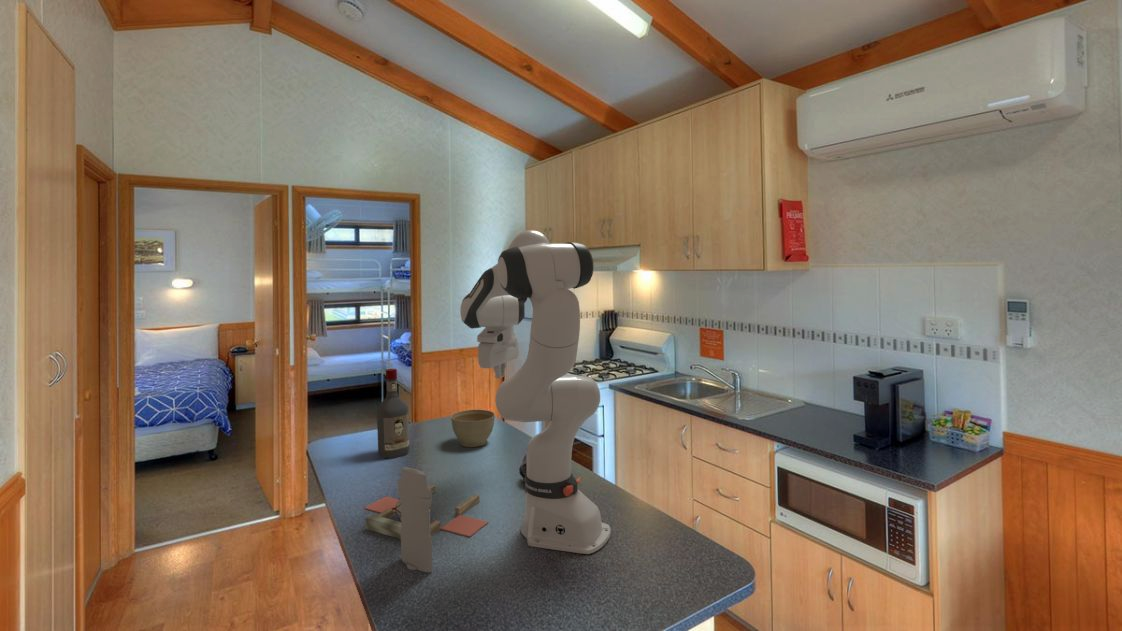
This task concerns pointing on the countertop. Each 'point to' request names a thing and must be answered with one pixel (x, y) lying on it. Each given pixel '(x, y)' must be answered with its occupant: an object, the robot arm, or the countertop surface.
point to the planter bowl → (473, 426)
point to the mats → (457, 525)
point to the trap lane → (393, 528)
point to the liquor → (392, 421)
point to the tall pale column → (415, 520)
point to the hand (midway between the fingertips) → (500, 377)
